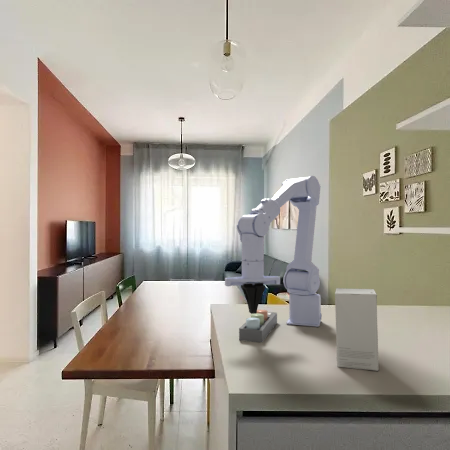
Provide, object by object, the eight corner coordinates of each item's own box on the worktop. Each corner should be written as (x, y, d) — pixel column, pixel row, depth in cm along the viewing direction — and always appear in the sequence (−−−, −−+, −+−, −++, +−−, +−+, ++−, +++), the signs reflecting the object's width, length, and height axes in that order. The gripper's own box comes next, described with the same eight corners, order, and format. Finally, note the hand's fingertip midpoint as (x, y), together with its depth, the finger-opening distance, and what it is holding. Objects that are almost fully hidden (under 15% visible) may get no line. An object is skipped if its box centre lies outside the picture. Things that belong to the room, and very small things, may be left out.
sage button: (265, 324, 98) (265, 314, 98) (262, 328, 95) (262, 317, 95) (252, 323, 99) (252, 313, 99) (249, 327, 96) (249, 316, 96)
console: (277, 322, 108) (277, 312, 108) (262, 342, 89) (262, 330, 89) (257, 320, 110) (257, 310, 110) (239, 340, 91) (239, 328, 91)
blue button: (261, 329, 94) (261, 318, 94) (257, 333, 90) (257, 321, 91) (248, 328, 95) (248, 317, 95) (244, 332, 92) (244, 320, 92)
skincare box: (376, 361, 77) (376, 288, 77) (379, 372, 71) (378, 294, 71) (336, 356, 80) (335, 286, 80) (335, 367, 73) (334, 291, 74)
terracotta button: (268, 320, 103) (268, 310, 103) (266, 323, 100) (266, 312, 100) (256, 319, 104) (256, 309, 104) (253, 322, 101) (253, 312, 101)
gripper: (272, 258, 99) (272, 307, 98) (221, 259, 95) (221, 310, 95) (283, 260, 92) (283, 313, 92) (228, 262, 88) (228, 317, 88)
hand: (252, 312), depth 93 cm, fingers closed
